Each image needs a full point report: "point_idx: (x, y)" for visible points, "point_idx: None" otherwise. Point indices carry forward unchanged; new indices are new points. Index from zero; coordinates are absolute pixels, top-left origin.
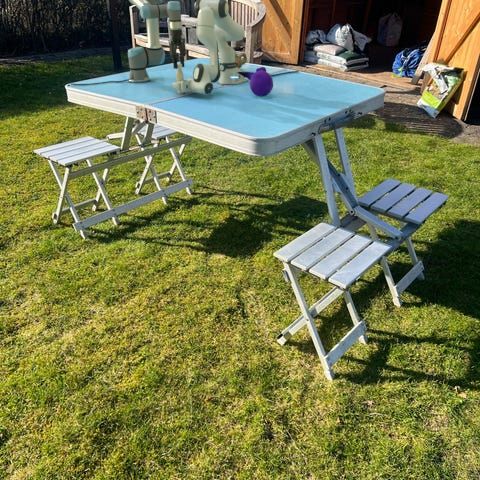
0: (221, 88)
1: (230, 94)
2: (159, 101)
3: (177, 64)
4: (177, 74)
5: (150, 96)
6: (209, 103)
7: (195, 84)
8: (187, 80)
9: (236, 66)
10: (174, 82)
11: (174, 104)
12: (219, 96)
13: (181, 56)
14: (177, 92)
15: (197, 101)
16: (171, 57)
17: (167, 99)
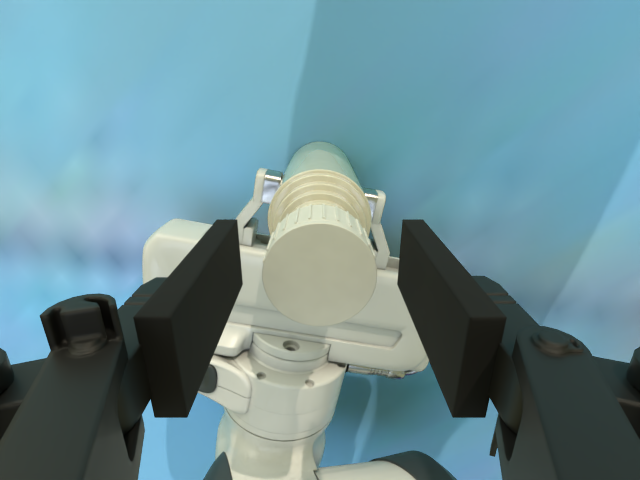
0: (580, 336)
1: (433, 458)
2: (16, 216)
3: (297, 262)
4: (269, 226)
5: (59, 10)
6: (198, 475)
7: (218, 447)
8: (219, 385)
9: None
10: (166, 252)
11: (46, 349)
12: (360, 438)
13: (458, 375)
14: (293, 155)
15: (191, 409)
16: (73, 316)
17: (97, 225)
